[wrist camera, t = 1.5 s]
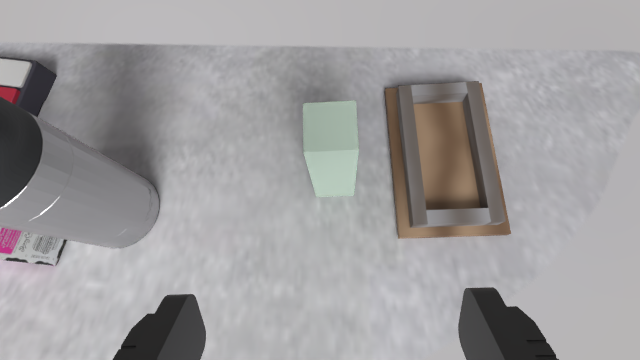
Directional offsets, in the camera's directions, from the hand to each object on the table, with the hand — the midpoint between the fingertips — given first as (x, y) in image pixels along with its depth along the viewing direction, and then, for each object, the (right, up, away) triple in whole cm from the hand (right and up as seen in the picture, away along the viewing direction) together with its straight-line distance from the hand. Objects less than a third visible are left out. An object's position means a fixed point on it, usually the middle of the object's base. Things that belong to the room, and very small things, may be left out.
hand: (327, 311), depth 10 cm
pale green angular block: (+2, +4, +31) cm, 32 cm away
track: (+14, +7, +31) cm, 35 cm away
